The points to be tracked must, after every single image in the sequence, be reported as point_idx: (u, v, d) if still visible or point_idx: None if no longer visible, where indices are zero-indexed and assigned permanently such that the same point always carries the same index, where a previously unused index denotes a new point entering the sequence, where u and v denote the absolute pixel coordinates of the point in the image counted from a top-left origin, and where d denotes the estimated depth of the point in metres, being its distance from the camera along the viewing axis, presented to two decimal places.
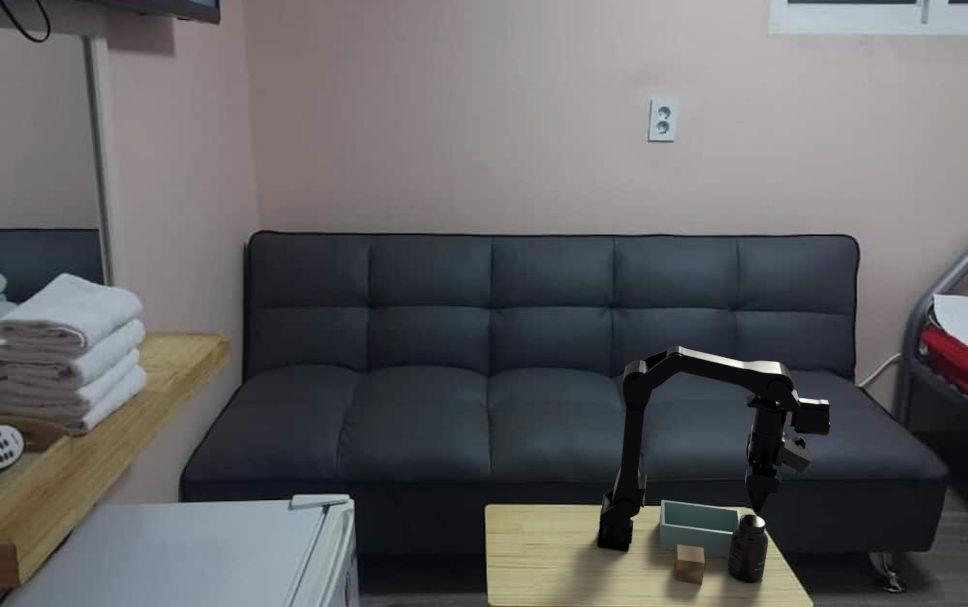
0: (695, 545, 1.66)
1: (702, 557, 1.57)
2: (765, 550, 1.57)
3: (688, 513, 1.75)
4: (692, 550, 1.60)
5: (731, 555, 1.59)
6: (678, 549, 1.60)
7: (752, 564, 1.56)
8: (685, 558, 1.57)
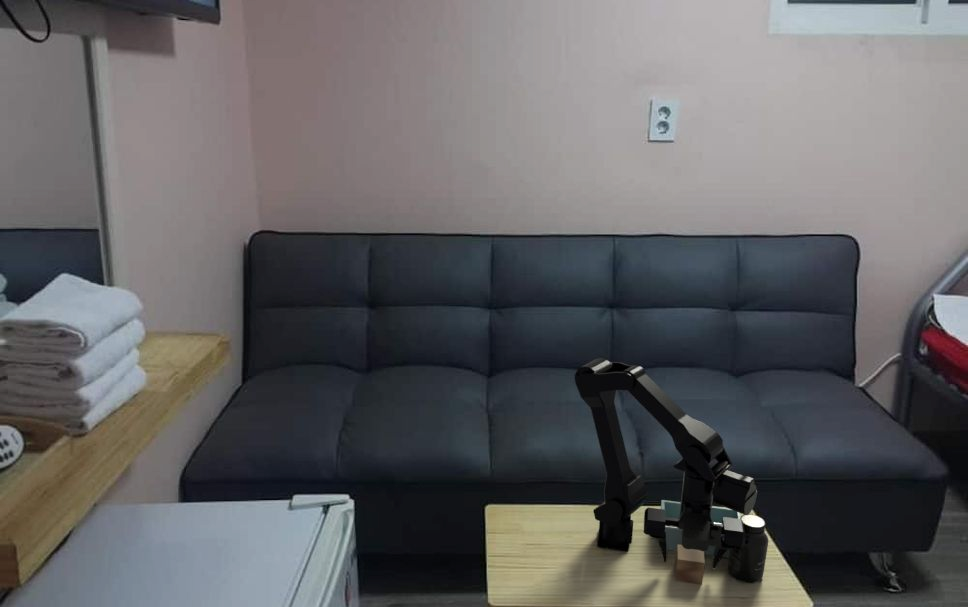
0: None
1: (702, 557, 1.57)
2: (765, 550, 1.57)
3: None
4: (692, 550, 1.60)
5: (731, 555, 1.59)
6: (678, 549, 1.60)
7: (752, 564, 1.56)
8: (685, 558, 1.57)
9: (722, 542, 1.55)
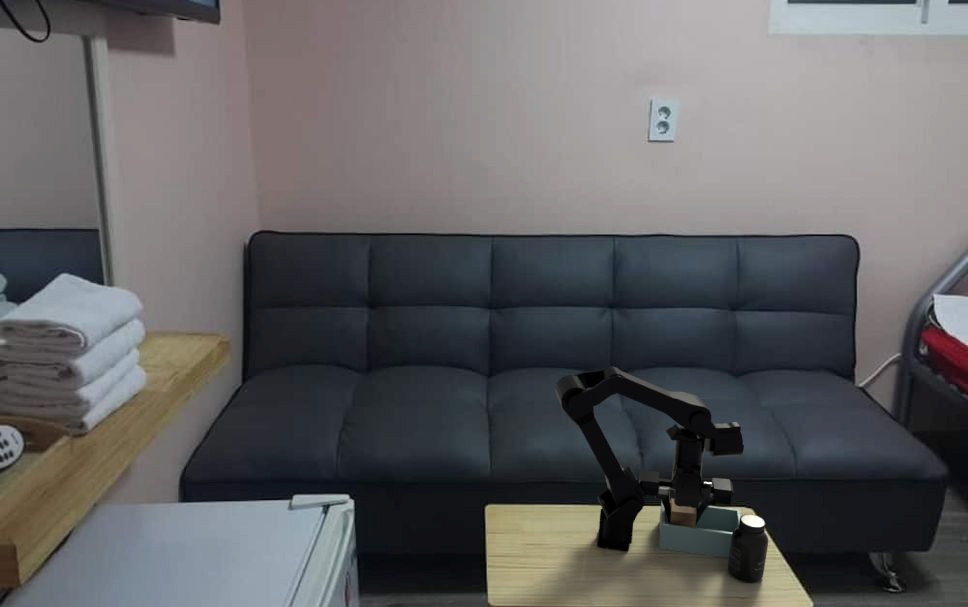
0: (695, 545, 1.66)
1: (694, 509, 1.68)
2: (765, 550, 1.57)
3: None
4: None
5: (731, 555, 1.59)
6: (672, 502, 1.71)
7: (752, 564, 1.56)
8: (678, 510, 1.68)
9: None
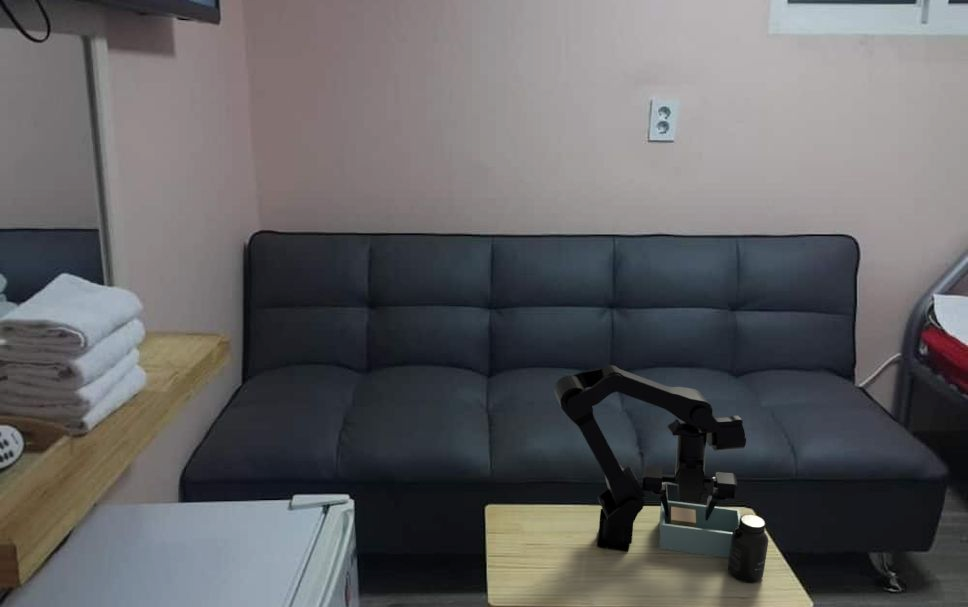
0: (695, 545, 1.66)
1: (694, 518, 1.69)
2: (765, 550, 1.57)
3: None
4: (684, 511, 1.71)
5: (731, 555, 1.59)
6: (672, 511, 1.71)
7: (752, 564, 1.56)
8: (678, 518, 1.69)
9: (713, 495, 1.66)
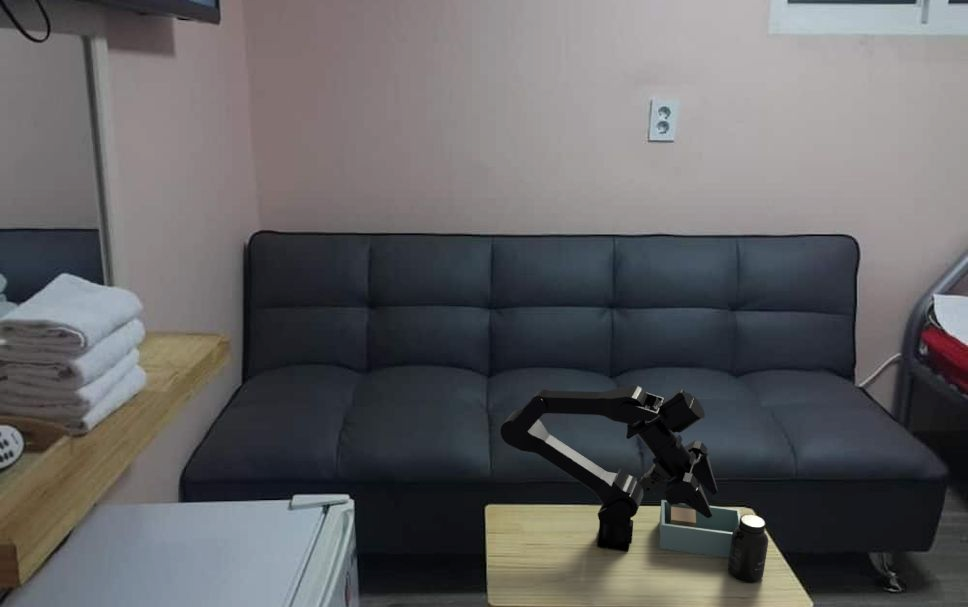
0: (695, 545, 1.66)
1: (694, 518, 1.69)
2: (765, 550, 1.57)
3: None
4: (684, 511, 1.71)
5: (731, 555, 1.59)
6: (672, 511, 1.71)
7: (752, 564, 1.56)
8: (678, 518, 1.69)
9: None
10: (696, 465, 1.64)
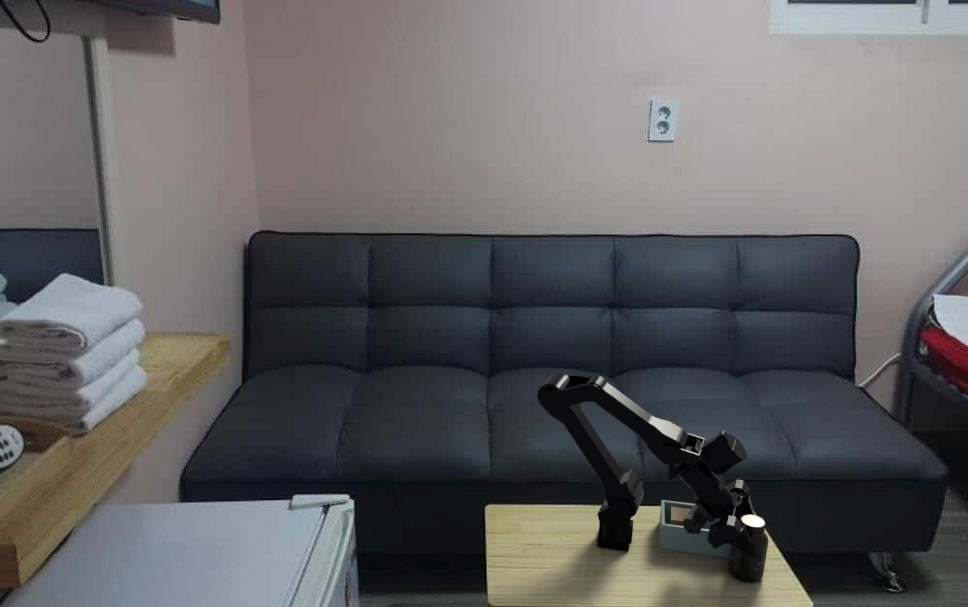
0: (695, 545, 1.66)
1: None
2: (765, 550, 1.57)
3: None
4: (684, 511, 1.71)
5: (731, 555, 1.59)
6: (672, 511, 1.71)
7: (752, 564, 1.56)
8: (678, 518, 1.69)
9: None
10: (738, 507, 1.62)
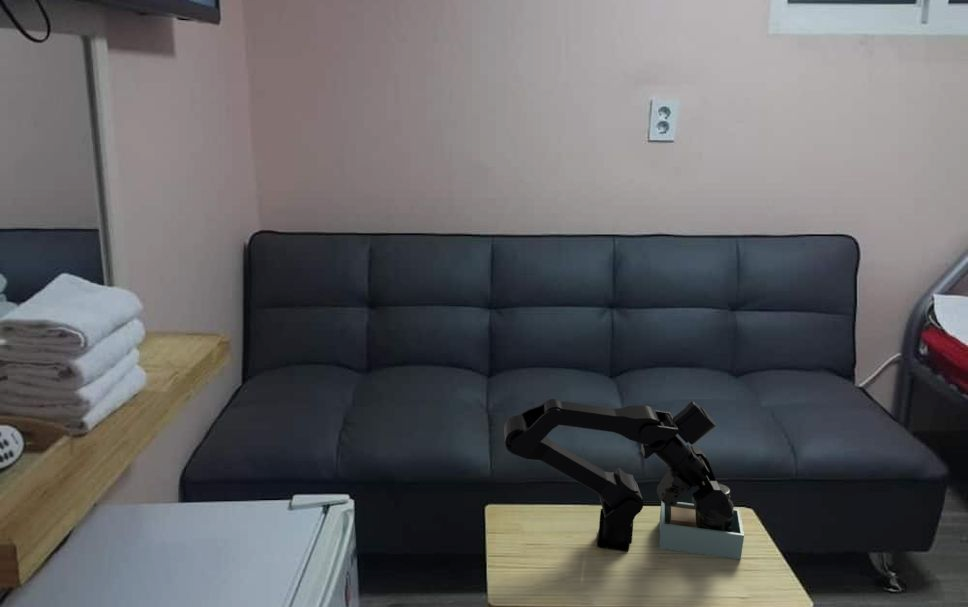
0: (695, 545, 1.66)
1: (694, 518, 1.69)
2: None
3: None
4: (684, 511, 1.71)
5: (703, 525, 1.67)
6: (672, 511, 1.71)
7: (725, 529, 1.66)
8: (678, 518, 1.69)
9: None
10: None
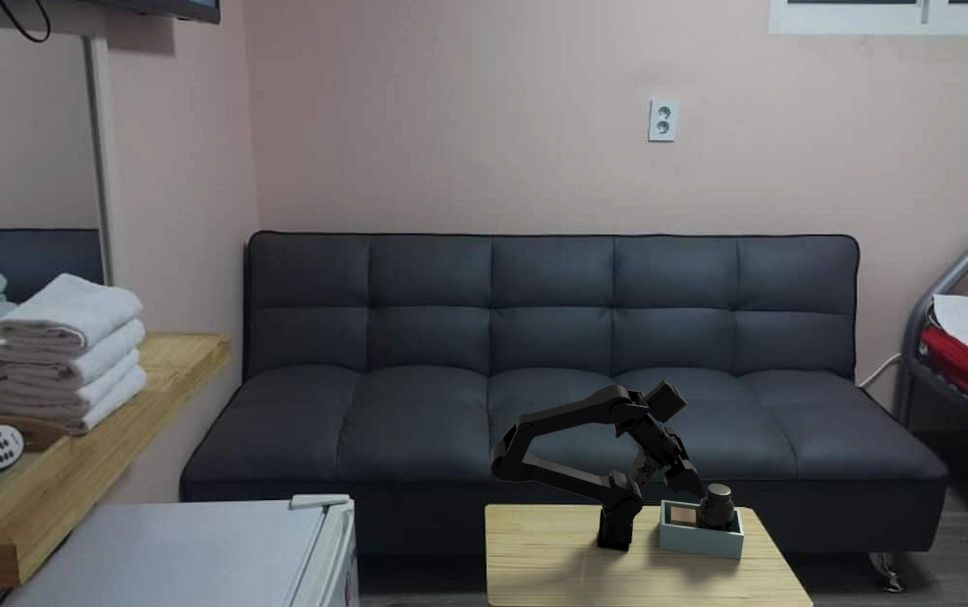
0: (695, 545, 1.66)
1: (694, 518, 1.69)
2: (733, 514, 1.67)
3: None
4: (684, 511, 1.71)
5: (703, 525, 1.67)
6: (672, 511, 1.71)
7: (725, 529, 1.66)
8: (678, 518, 1.69)
9: None
10: None
